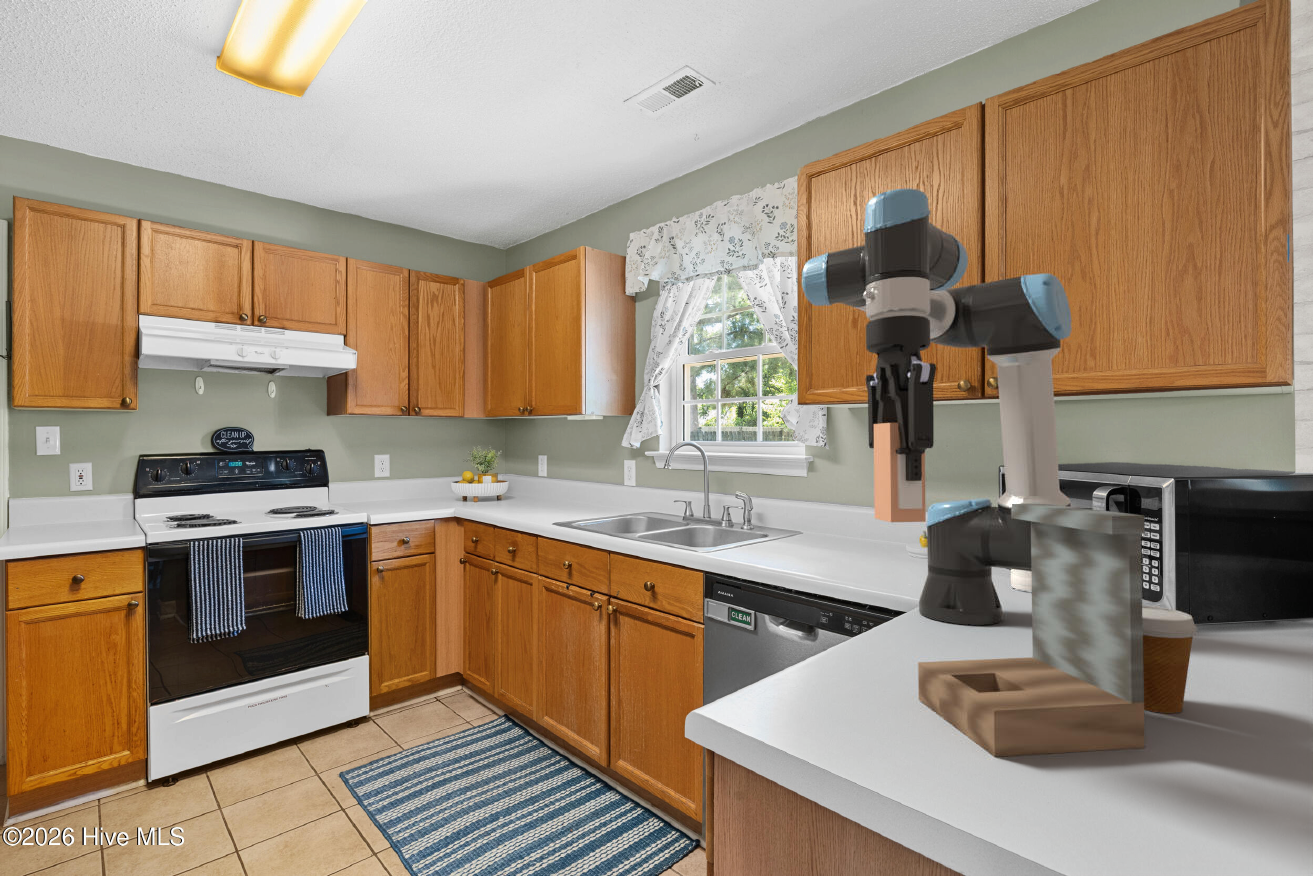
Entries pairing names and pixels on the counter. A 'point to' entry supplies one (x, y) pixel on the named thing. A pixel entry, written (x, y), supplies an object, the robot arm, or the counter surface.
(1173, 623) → the disposable coffee cup
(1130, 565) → the socket stand
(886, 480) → the peg
